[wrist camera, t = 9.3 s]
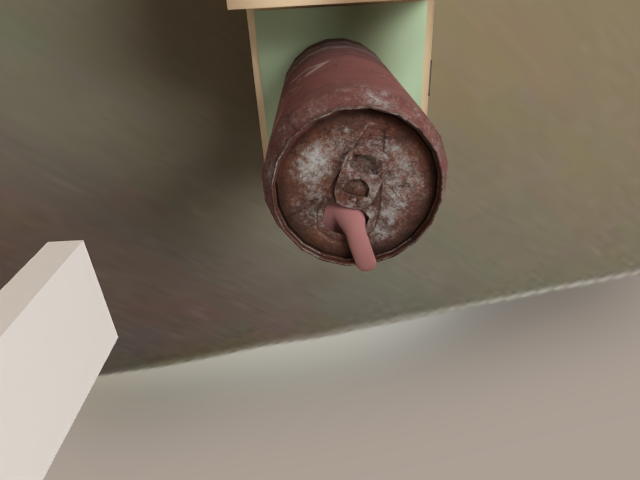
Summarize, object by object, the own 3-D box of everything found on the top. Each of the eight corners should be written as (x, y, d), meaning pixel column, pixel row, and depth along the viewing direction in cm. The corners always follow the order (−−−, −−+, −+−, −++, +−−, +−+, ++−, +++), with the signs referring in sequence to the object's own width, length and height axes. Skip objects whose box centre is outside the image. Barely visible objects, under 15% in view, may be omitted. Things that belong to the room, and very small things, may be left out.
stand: (271, 135, 34) (254, 206, 23) (239, -165, 25) (190, -266, 15) (409, 127, 34) (453, 195, 23) (423, -177, 25) (504, -285, 15)
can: (307, 162, 28) (304, 302, 16) (266, 61, 25) (225, 139, 13) (401, 129, 27) (473, 250, 15) (371, 19, 24) (430, 62, 12)
